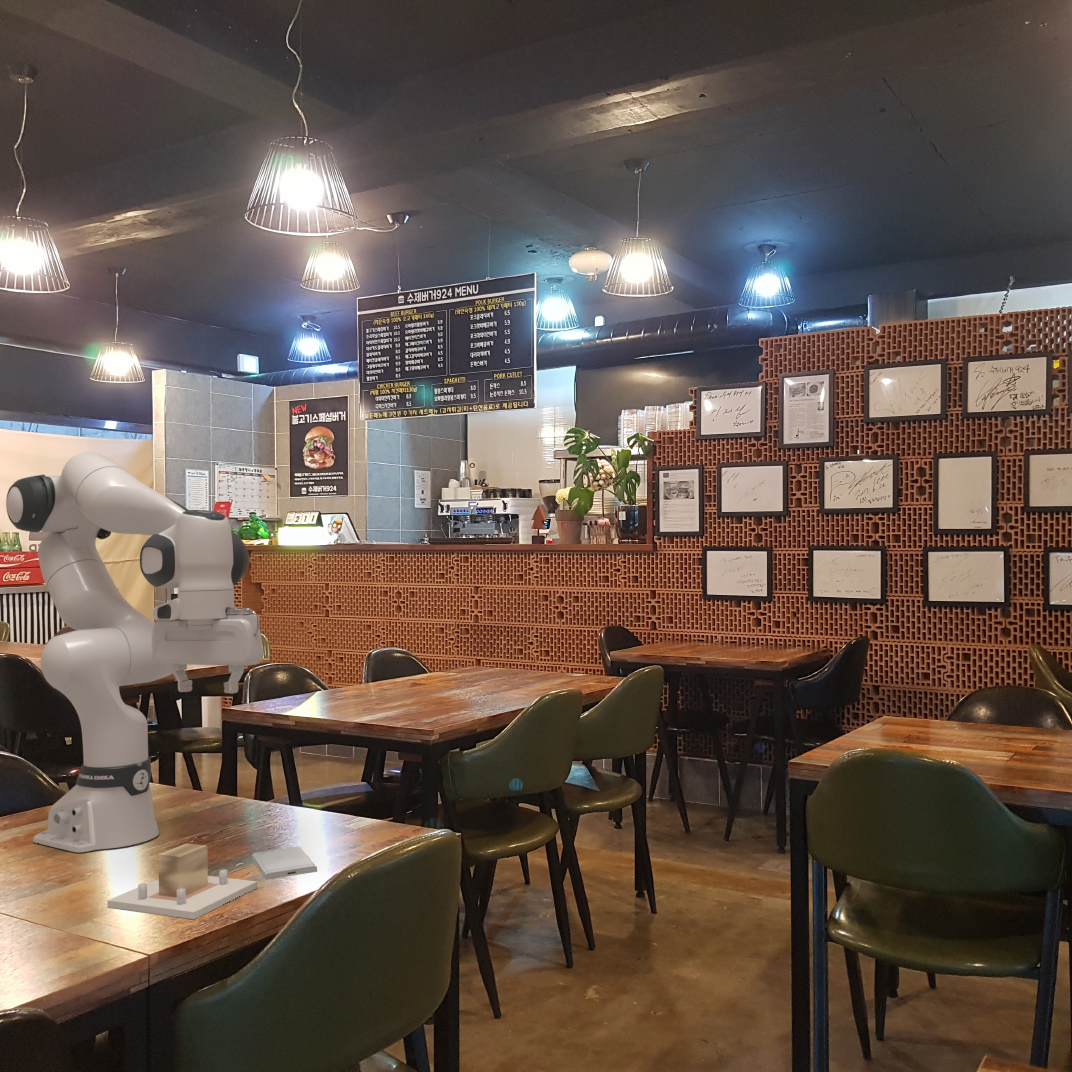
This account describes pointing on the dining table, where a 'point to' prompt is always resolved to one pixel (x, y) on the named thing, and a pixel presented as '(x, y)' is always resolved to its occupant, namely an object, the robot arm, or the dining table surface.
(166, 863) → the maple block
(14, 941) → the dining table surface
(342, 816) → the dining table surface
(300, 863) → the hard drive
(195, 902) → the pin base
